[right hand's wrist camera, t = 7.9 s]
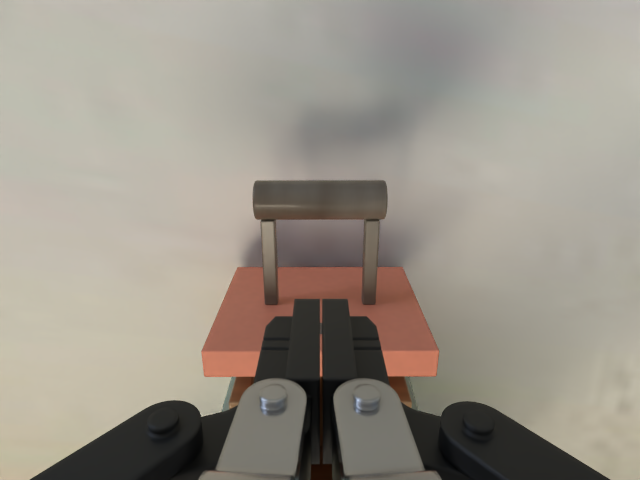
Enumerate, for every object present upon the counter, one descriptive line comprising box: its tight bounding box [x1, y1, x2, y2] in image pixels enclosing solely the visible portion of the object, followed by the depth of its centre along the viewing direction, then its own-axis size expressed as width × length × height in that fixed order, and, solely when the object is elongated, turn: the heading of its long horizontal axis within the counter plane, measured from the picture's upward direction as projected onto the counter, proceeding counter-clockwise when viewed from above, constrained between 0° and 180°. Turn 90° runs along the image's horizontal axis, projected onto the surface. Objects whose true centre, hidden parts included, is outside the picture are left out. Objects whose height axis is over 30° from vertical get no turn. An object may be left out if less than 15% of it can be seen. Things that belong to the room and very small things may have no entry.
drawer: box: [201, 180, 439, 480], centre depth 21 cm, size 18×9×8 cm, turn 0°
